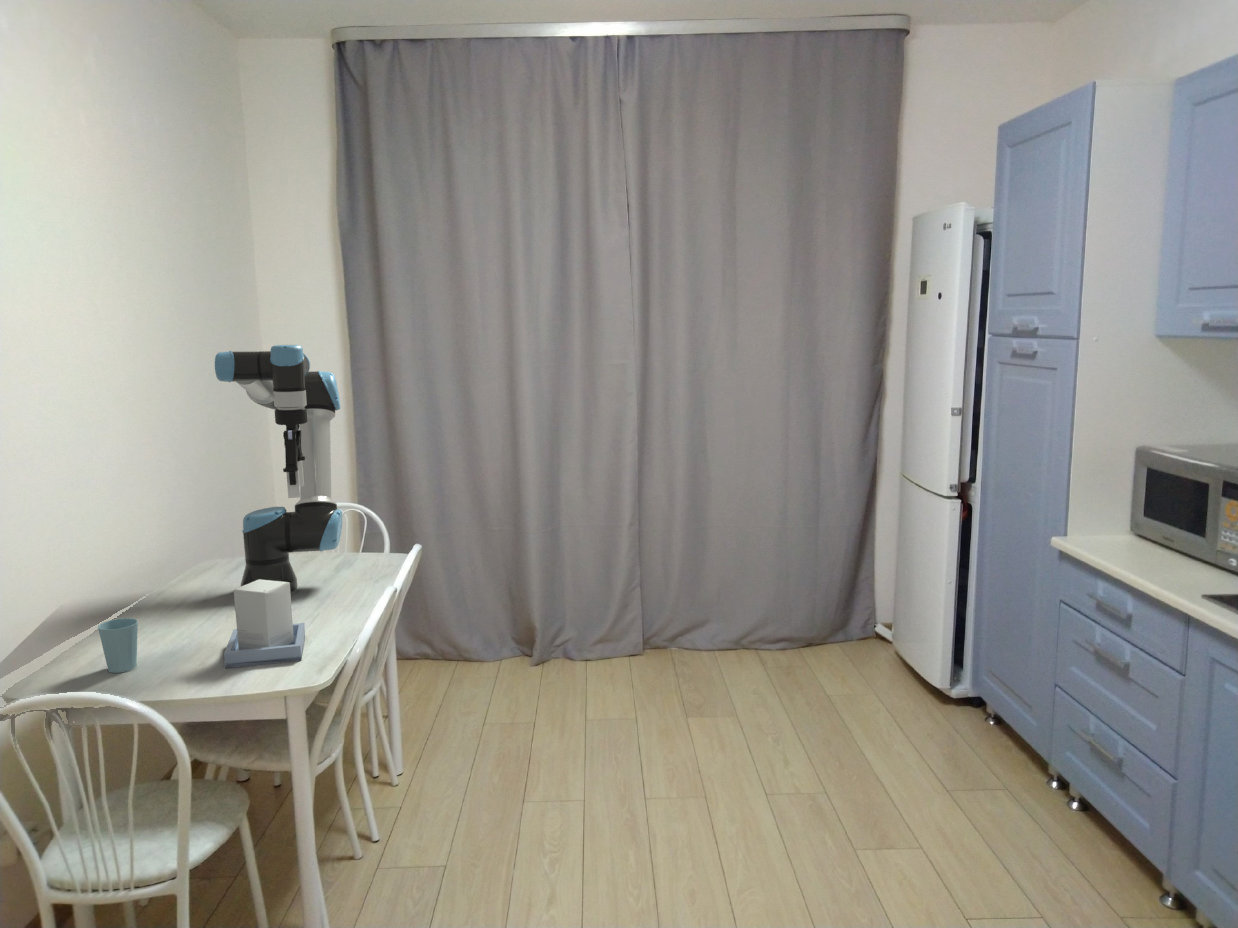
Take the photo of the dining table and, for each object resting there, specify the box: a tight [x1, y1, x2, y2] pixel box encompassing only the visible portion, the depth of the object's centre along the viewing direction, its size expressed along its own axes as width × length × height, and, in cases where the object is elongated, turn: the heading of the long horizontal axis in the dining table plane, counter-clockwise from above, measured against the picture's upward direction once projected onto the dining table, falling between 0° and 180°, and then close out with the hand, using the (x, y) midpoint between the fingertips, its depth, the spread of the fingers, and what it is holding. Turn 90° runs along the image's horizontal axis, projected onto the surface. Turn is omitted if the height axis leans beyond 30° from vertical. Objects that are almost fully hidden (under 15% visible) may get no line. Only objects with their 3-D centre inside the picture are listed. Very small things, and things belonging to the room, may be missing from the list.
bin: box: [223, 622, 306, 670], centre depth 204 cm, size 16×16×4 cm
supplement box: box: [233, 579, 294, 650], centre depth 203 cm, size 9×9×15 cm
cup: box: [97, 617, 139, 674], centre depth 194 cm, size 8×8×10 cm
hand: (296, 491), depth 220 cm, fingers open, 13 cm apart
